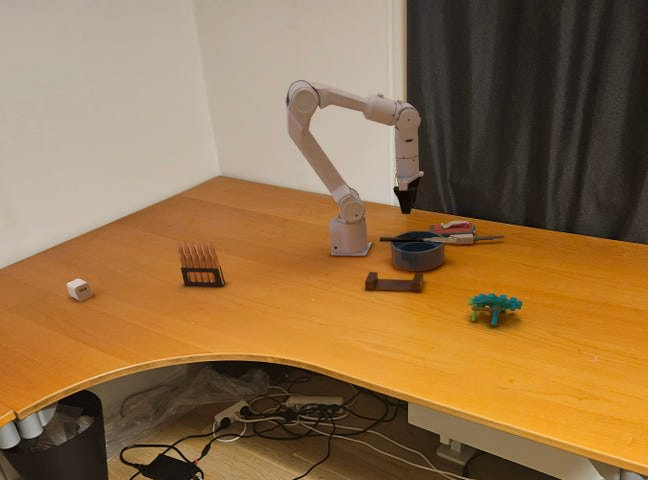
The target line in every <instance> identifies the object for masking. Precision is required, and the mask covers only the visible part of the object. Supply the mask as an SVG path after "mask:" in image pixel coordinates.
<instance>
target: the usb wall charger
mask: <svg viewBox="0 0 648 480" xmlns="http://www.w3.org/2000/svg"><path fill="white" fill-rule="evenodd" d="M66 288H67V291H68V293H69V296H70V297H72V298H73V299H75V300H77V301H79V302H83V301H85V300H88V299H90V298H91V297H93V295H94V294H93V293H94V292H93V290H92V288H91V285H90V282H87V281H85V280H83V279H82V278H76V279H73V280H71V281H68V282H67V283H66Z"/></svg>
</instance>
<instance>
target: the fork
mask: <svg viewBox="0 0 648 480" xmlns="http://www.w3.org/2000/svg"><path fill="white" fill-rule="evenodd" d="M379 242H380V243H391V242H431V243H445V244H448V245H450V244H451V245H453V244H454V245H457V244H456V242H457V238H441V237H433V238H408V237H395V236H394V237H393V236H380V237H379Z"/></svg>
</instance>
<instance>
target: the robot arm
mask: <svg viewBox="0 0 648 480" xmlns="http://www.w3.org/2000/svg"><path fill="white" fill-rule="evenodd" d="M329 106H335V107H340V108H343V109H348V110H353V111H356V112H360V113H362V114H363V116H364V117H363V118H364V119H365V120H368V121H371V122H375V123H378V124H382V125H385V126H388V127H393V126H394V149H395V150H394V154H395V155H394V156H395V157H394V158H395V179H396V181H397V182H398V185H395V186H393V188H392V191H393V193H394V195H395V196H396V199H397V201H398V204H399V208H400V211H401V214H402V215H411V212H412V209H413V204H415V203H416V201H417V195H418V188H419V185H420V181H421V179H422V177H424V175H425V172H424V171H420V159H419V155H420V154H419V132H418V130H419V127H420V125H421V121H422V118H421V117H420V113H419V111H418V110H417V108H415V107H414V106H413V105H412V104H410V103H408V102H406V101H403V100H402V99H395V100H394V99H391V98H388V97H385V94H383V93H381V92H377V94H374V93H372V94H370V95H368V96H366V97H364V96H361V95H359V94H355V93H352V92H349V91H346V90H343V89H340V88H337V87H334V86H332V85H328V84H324V83H322V82H321V83H320V82H316V81H310V82H309V81H307V80H305V79H297V80H295V81H293V82H292V83H291V84H290V85H289V87H288V90H287V93H286V97H285V112H286V116H285V117H286V129H287V131H286V132H287V134H288V136H289V138H290V139H291V141H292V142H293V144H294V145H295V146H296V147H297V149H298V151H300V153H301V154H302V156H303V158H305V160H306V161H307V163H308V164H309V166H310V167H311V169H312V170H313V171H314V172H315V174H316V175H317V176H318V178H319V179H320V180H321V182H322V183H323V185H324V187H325V188H326V189H327V191H328V192H329V193H330V194H331V196H332V198H333V200H334V201H335V204H336V206H337V208H338V210H339V213H338V215H337V217H332V218H331V219H330V221H329V230H328V232H329V240H330V250H331V253H330V255H331V256H335V257H337V256H338V257H339V256H340V257H343V256H344V257H348V256H349V257H366V256H367V254H368V253H369V251H370V249H371V247H372V244H373V243H372V241H368V233H367V220H366V206H365V203H364V202H363V201H362V199H361V197H360V194H359V192H358V190H356V189H355V188H352V187H351V186H349V184H348V183H347V182H346V181H345V179H344V178H343V177H342V175H341V174H340V172H339V171H338V169H337V168H336V167H335V165H334V164H333V162H332V161H331V159H330V158H329V156H328V155H327V154H326V152H325V151H324V150H323V148H322V147H321V145H320V144H319V142H318V141H317V139H316V138H315V136H314V135H313V134H312V132H311V131H310V126H311V121H312V118H313V116H314V114H315V113H316V111H317V109H318V107H319V109H320V110H323V109H326V108H327V107H329Z"/></svg>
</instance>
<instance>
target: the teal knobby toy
mask: <svg viewBox="0 0 648 480" xmlns="http://www.w3.org/2000/svg"><path fill="white" fill-rule="evenodd" d="M507 297H508V295H507V294H499V296H498V295H496V293H494V292H490V293H488V294H485V293H479V294H478V295H474V296H473V298H472V297H469V298H468V301H467V305H468V306H471V311H472V317H471V321H472V322H476V320H477V319H476V318H477V313H478V312H489V313H490V312H491V313H492V312H493V314H492V319H491V326H492V327H497V325H498V318H499V313H500V312H507V310H509V311H512V312H514V311H516V310H521V309H522V307H523V302H524V301H522V300H518V298H517V297H514V296H511V297H509V298H507Z"/></svg>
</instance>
